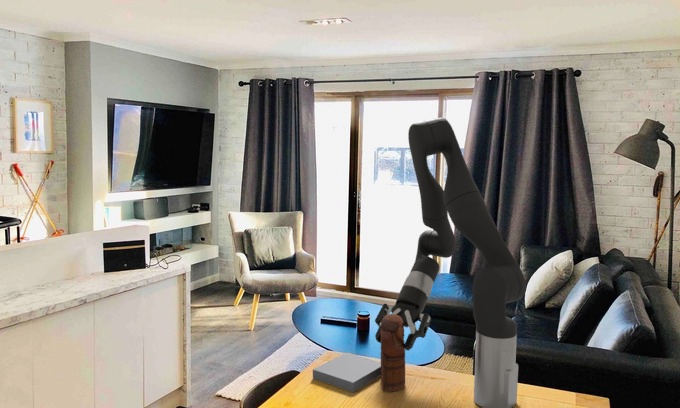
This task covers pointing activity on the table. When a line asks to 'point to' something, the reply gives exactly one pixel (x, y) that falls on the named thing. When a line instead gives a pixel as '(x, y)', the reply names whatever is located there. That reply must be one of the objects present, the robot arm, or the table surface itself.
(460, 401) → the table surface
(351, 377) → the base
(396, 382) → the wooden figurine
